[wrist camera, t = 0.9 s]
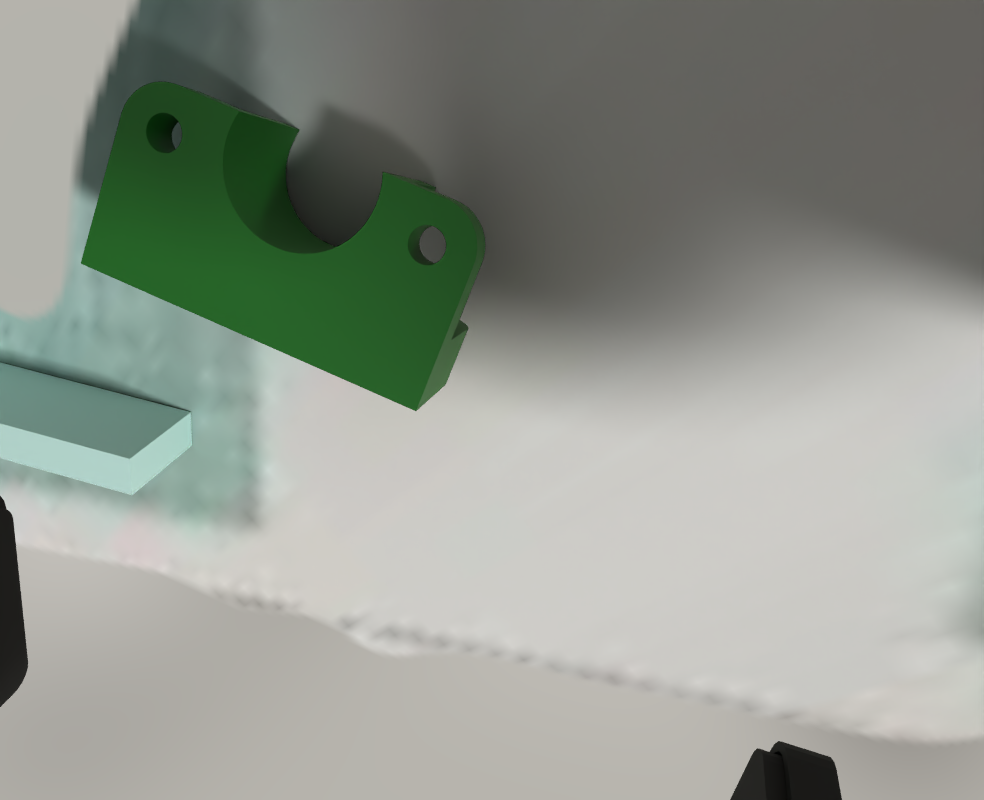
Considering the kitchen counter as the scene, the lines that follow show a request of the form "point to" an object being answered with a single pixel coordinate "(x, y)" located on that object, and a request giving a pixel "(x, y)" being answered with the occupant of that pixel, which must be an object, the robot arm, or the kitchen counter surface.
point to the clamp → (281, 247)
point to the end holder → (87, 430)
